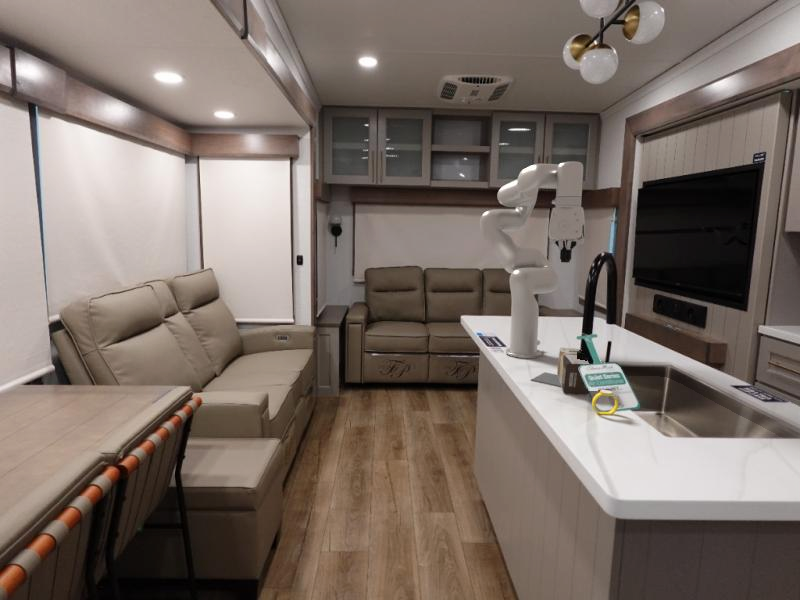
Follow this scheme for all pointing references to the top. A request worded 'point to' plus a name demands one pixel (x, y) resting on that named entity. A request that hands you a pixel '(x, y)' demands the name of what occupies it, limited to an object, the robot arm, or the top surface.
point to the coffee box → (570, 371)
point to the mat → (547, 379)
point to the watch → (606, 393)
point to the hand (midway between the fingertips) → (565, 262)
